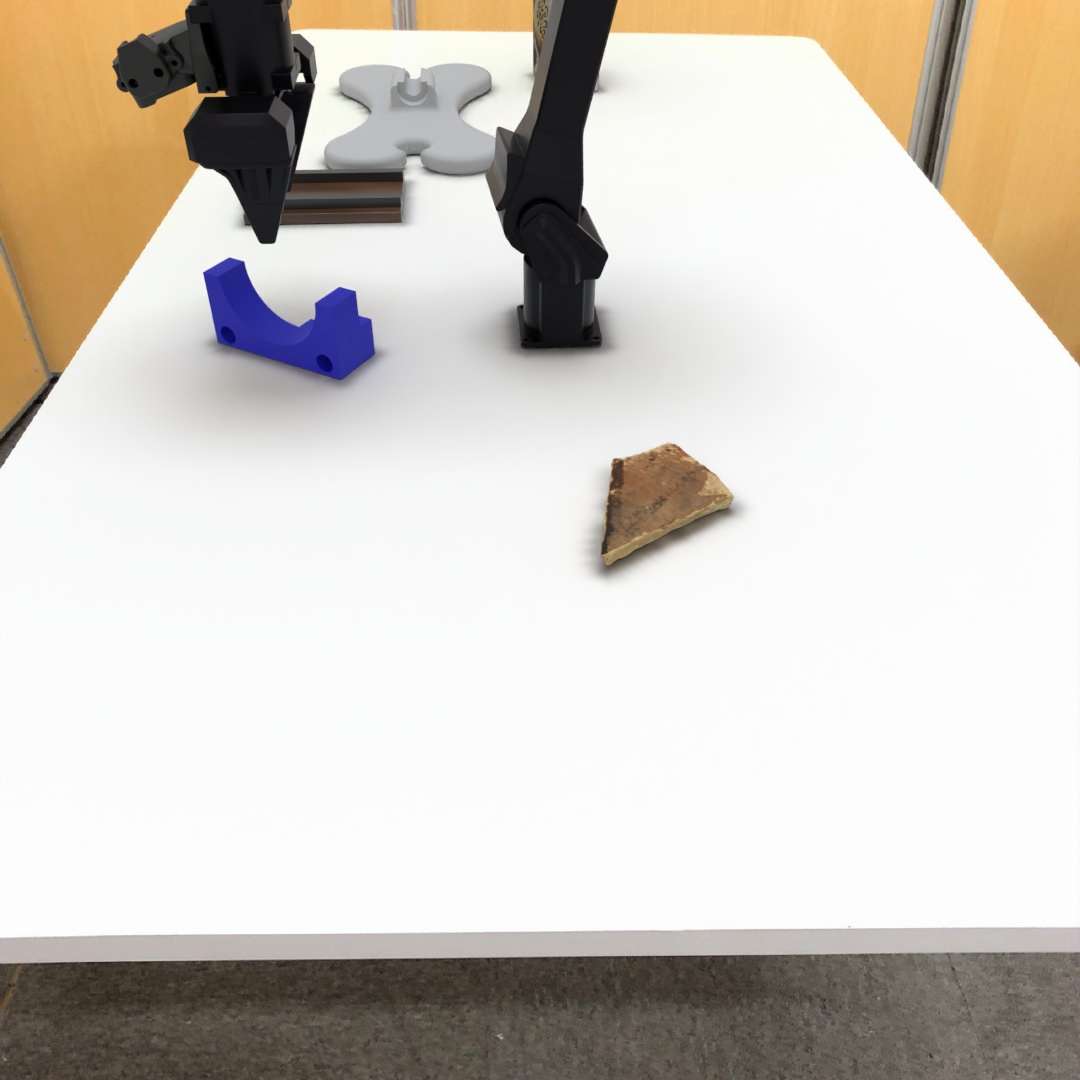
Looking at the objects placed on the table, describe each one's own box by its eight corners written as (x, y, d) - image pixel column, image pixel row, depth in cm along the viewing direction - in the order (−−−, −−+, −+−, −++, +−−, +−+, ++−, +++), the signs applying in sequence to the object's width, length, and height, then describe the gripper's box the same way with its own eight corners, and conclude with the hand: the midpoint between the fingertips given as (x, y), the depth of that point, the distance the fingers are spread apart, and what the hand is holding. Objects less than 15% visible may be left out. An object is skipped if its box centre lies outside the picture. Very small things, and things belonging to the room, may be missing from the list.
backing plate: (401, 222, 103) (400, 201, 101) (244, 225, 102) (241, 204, 100) (404, 182, 110) (403, 163, 109) (259, 185, 109) (255, 166, 108)
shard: (600, 573, 63) (601, 551, 62) (529, 508, 68) (529, 485, 67) (736, 511, 68) (739, 489, 67) (660, 454, 73) (663, 432, 72)
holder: (490, 77, 138) (489, 36, 135) (504, 175, 112) (503, 127, 109) (342, 80, 137) (338, 38, 134) (322, 179, 111) (316, 131, 108)
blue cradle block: (375, 353, 83) (367, 283, 79) (341, 379, 80) (331, 307, 76) (254, 318, 87) (241, 250, 84) (217, 342, 84) (202, 272, 81)
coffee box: (530, 74, 139) (531, -65, 129) (577, 70, 141) (581, -68, 130) (552, 95, 133) (554, -50, 122) (600, 91, 134) (606, -53, 124)
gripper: (140, -52, 74) (187, 170, 84) (66, 18, 59) (133, 276, 69) (302, -54, 74) (330, 167, 84) (267, 15, 60) (305, 272, 70)
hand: (276, 216), depth 77 cm, fingers open, 9 cm apart
